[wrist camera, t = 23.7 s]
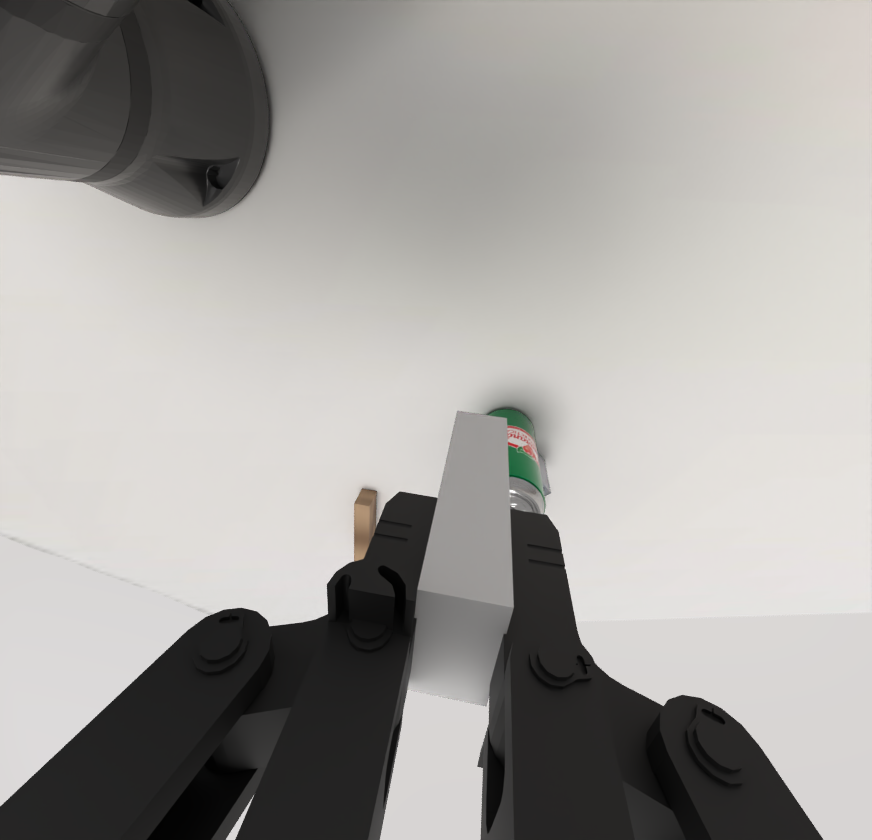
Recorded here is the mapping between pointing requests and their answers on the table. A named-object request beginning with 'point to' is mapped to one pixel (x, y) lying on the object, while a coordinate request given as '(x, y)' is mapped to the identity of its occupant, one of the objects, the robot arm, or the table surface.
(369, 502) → the channel
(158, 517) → the table surface
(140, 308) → the table surface
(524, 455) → the soda can
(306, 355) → the table surface
